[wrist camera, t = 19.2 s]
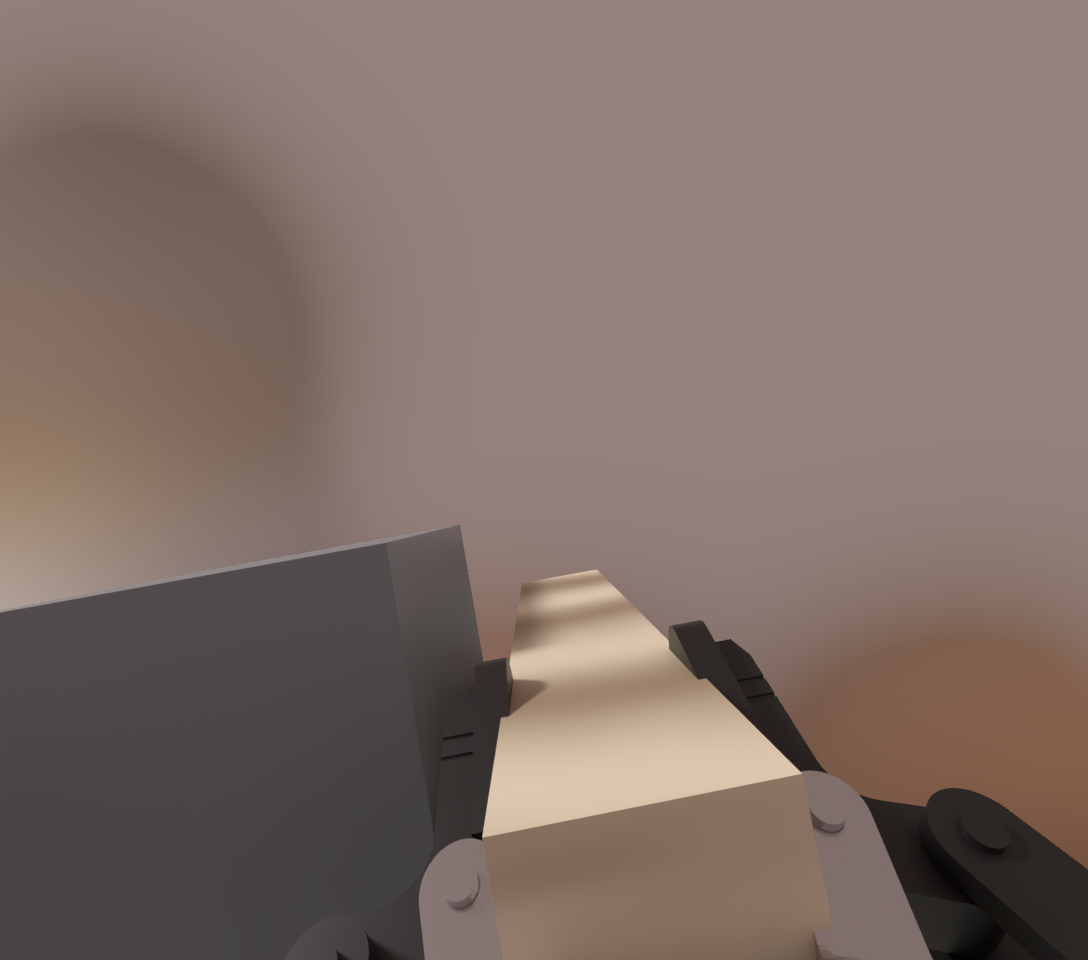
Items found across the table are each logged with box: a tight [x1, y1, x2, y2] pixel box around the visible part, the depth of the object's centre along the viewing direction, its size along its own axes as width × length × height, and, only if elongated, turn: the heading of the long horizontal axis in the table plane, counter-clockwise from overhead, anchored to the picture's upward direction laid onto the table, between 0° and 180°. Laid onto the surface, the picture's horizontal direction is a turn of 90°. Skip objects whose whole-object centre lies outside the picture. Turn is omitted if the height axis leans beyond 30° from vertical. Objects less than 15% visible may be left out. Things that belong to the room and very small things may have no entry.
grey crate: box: [0, 525, 483, 960], centre depth 20 cm, size 14×14×16 cm
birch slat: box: [482, 570, 833, 960], centre depth 16 cm, size 20×4×3 cm, turn 1°
